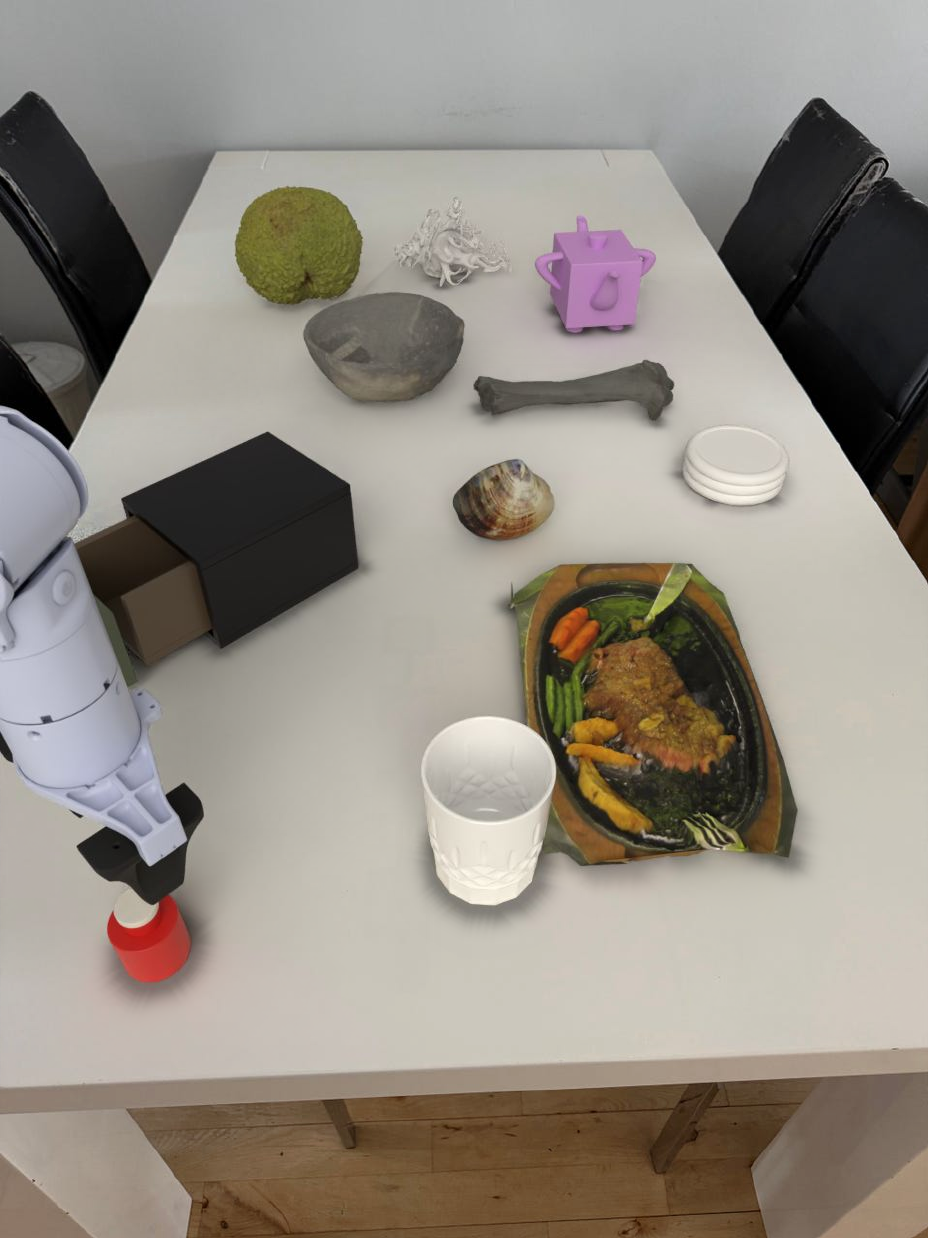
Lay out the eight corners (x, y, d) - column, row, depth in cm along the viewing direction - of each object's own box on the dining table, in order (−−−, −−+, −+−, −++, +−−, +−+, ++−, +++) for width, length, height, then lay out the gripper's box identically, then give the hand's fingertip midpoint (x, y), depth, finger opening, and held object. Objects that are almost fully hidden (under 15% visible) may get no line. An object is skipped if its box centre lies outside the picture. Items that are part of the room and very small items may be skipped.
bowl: (365, 338, 114) (361, 275, 109) (490, 371, 108) (492, 306, 103) (279, 403, 103) (268, 336, 97) (413, 443, 97) (410, 374, 91)
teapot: (668, 318, 119) (681, 233, 111) (608, 354, 111) (618, 266, 104) (573, 286, 126) (580, 204, 119) (512, 318, 119) (515, 233, 111)
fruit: (289, 335, 115) (221, 220, 108) (267, 331, 127) (204, 227, 120) (395, 269, 117) (335, 152, 110) (363, 271, 130) (307, 166, 123)
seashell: (543, 510, 88) (549, 439, 83) (560, 547, 84) (567, 474, 78) (447, 523, 87) (446, 451, 81) (459, 560, 82) (459, 487, 77)
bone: (665, 397, 104) (673, 347, 100) (676, 426, 99) (685, 375, 95) (472, 398, 104) (473, 348, 100) (474, 428, 99) (474, 377, 95)
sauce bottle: (122, 990, 54) (97, 945, 50) (123, 929, 56) (99, 882, 53) (192, 973, 54) (172, 928, 51) (189, 914, 57) (170, 866, 53)
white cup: (490, 939, 56) (494, 849, 49) (400, 863, 60) (392, 769, 53) (569, 857, 60) (583, 763, 53) (481, 790, 64) (483, 695, 57)
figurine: (389, 240, 130) (430, 167, 124) (477, 292, 136) (521, 225, 130) (390, 277, 121) (435, 199, 115) (485, 331, 127) (532, 260, 121)
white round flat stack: (778, 516, 87) (787, 486, 85) (674, 497, 90) (680, 466, 87) (785, 461, 94) (794, 432, 92) (689, 444, 97) (694, 415, 94)
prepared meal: (830, 827, 57) (547, 837, 57) (815, 859, 60) (543, 869, 59) (714, 558, 79) (506, 562, 78) (706, 589, 81) (504, 594, 80)
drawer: (75, 718, 68) (44, 648, 63) (12, 647, 73) (-21, 578, 68) (268, 606, 77) (255, 538, 72) (200, 551, 82) (183, 483, 77)
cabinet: (221, 649, 74) (199, 563, 68) (146, 582, 80) (120, 497, 74) (358, 568, 82) (350, 484, 75) (281, 512, 88) (267, 430, 81)
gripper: (218, 716, 39) (265, 883, 49) (58, 563, 47) (125, 733, 56) (65, 813, 36) (147, 973, 45) (-82, 631, 43) (15, 800, 52)
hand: (127, 845), depth 50 cm, fingers open, 7 cm apart
